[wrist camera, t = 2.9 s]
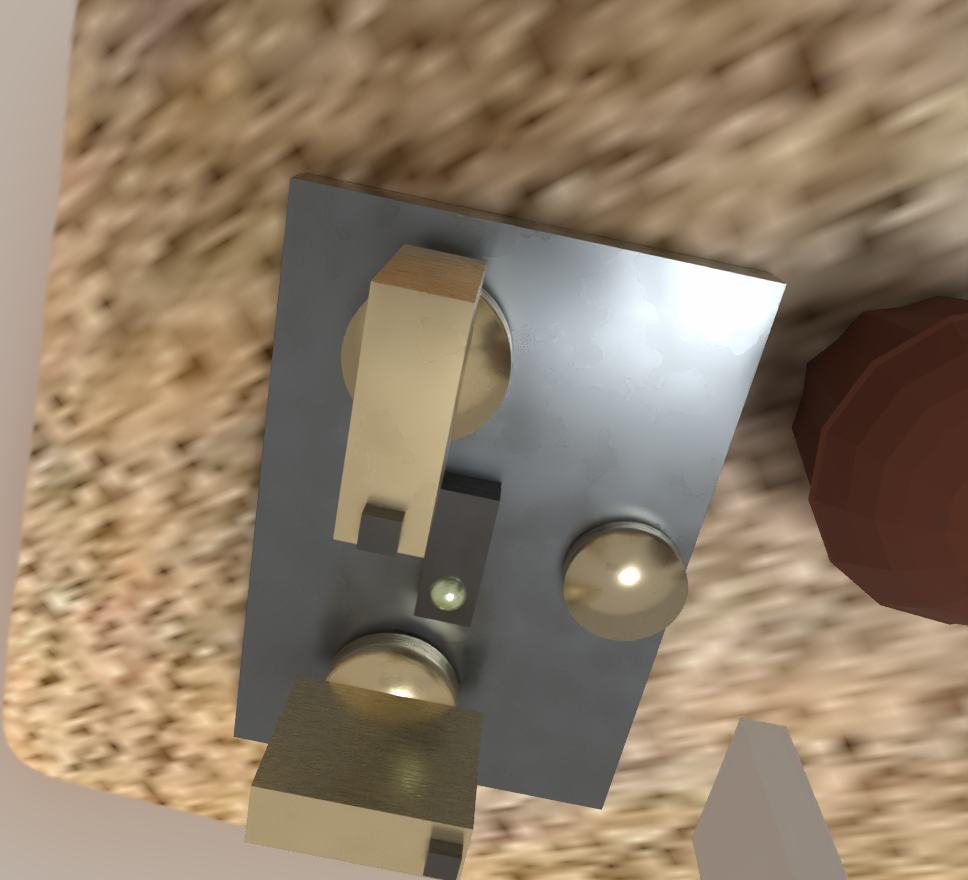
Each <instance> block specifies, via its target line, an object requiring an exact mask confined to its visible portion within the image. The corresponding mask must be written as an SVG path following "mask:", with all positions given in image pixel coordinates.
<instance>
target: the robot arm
mask: <svg viewBox="0 0 968 880" xmlns="http://www.w3.org/2000/svg"><path fill="white" fill-rule="evenodd" d="M692 841H693V846H694V850H695V855H696V859H697V864H698V868H699V873H700V877H701V880H849V879H848V877H847V874H846V872H845V869H844V867H843V864H842V862H841V859H840V857H839V855H838V852H837V850H836V847H835V845H834V842H833V840H832V837H831V835H830V832H829V830H828V828H827V825H826V823H825V820H824V818H823V815H822V813H821V810H820V808H819V806H818V803H817V801H816V798H815V796H814V793H813V791H812V788H811V786H810V784H809V781H808V779H807V776H806V774H805V771H804V769H803V766H802V764H801V762H800V759H799V757H798V754H797V752H796V749H795V747H794V744H793V742H792V739H791V737H790V735H789V732H788V730H787V727H786V726H781V725H776V724H770V723H765V722H760V721H755V720H749V719H744V718H740V721H739V723H738V726H737V728H736V730H735V733H734V735H733V738H732V740H731V743H730V745H729V748H728V750H727V753H726V755H725V758H724V760H723V762H722V765H721V767H720V770H719V772H718V775H717V777H716V780H715V782H714V785H713V787H712V790H711V792H710V795H709V797H708V799H707V802H706V804H705V807H704V809H703V812H702V814H701V817H700V819H699V822H698V824H697V827H696V829H695V832H694V834H693V836H692Z"/></svg>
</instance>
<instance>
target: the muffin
mask: <svg viewBox="0 0 968 880" xmlns="http://www.w3.org/2000/svg"><path fill="white" fill-rule="evenodd" d="M792 430H793V433H794V436H795V439H796V442H797V446H798V449H799V452H800V455H801V458H802V461H803V464H804V467H805V470H806V473H807V476H808V479H809V482H810V485H811V488H810V493H809V502H810V505H811V508H812V511H813V514H814V517H815V519H816V522H817V525H818V528H819V531H820V534H821V537H822V539H823V542H824V545H825V548H826V551H827V554H828V557H829V559H830V562H831V563H833V564H834V565H835V566H836V567H837V568H838V569H839V570H841V571H842V572H843V573H844V574H845V575H846V576H848V577H849V578H850V579H851V580H852V581H853V582H854V583H856V584H857V585H858V586H859V587H860V588H861V589H862V590H864V591H865V592H866V593H867V594H868V595H869V596H870V597H872V598H873V599H874V600H875V601H876V602H877V603H879V604H880V605H882V606H885V607H889V608H893V609H896V610H900V611H903V612H907V613H910V614H914V615H918V616H921V617H925V618H928V619H932V620H935V621H939V622H943V623H946V624H962V625H968V300H962V299H955V298H948V297H941V296H937V297H934V298H930V299H927V300H924V301H920V302H917V303H913V304H910V305H907V306H903V307H899V308H891V309H882V310H874V311H866V312H862V314H861V315H860V316H859V317H858V318H857V319H856V320H855V321H854V322H853V323H852V324H851V325H850V327H849V328H848V329H847V330H846V331H845V332H844V333H843V334H842V335H841V336H840V337H839V338H838V340H836V341H835V342H834V343H833V344H831V345H830V346H829V347H828V348H826V349H825V350H824V351H822V352H821V353H820V354H819V355H817V356H816V357H815V358H813V359H812V360H811V361H810V362H808V363H807V369H806V376H805V383H804V390H803V397H802V399H801V402H800V405H799V408H798V411H797V414H796V417H795V419H794V422H793V425H792Z"/></svg>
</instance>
